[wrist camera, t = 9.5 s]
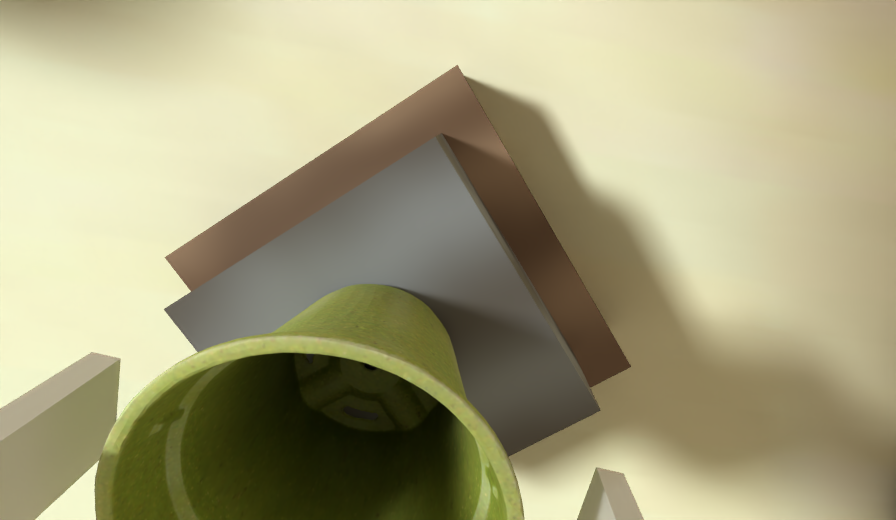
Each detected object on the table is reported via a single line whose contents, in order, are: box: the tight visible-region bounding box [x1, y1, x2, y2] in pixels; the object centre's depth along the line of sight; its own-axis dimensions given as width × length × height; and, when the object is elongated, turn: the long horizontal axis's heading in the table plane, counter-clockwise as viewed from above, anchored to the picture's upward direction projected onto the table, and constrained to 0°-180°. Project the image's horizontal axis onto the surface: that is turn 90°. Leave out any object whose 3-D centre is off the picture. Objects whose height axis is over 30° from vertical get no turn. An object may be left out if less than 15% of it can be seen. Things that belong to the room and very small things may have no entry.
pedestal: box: [164, 65, 631, 456], centre depth 24 cm, size 16×16×9 cm
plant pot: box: [95, 284, 524, 520], centre depth 15 cm, size 9×9×9 cm
